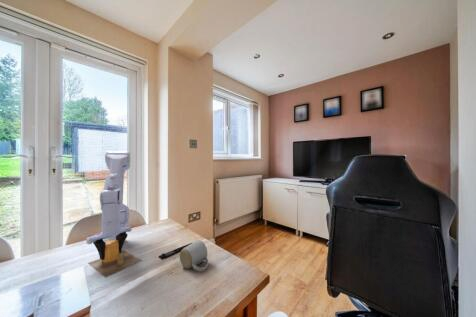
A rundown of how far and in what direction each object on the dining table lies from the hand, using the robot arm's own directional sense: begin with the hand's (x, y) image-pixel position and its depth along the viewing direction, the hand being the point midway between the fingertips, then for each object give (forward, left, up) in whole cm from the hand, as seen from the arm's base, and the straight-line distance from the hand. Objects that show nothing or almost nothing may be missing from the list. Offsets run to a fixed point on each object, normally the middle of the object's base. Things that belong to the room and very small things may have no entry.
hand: (110, 255), depth 69 cm
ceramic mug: (+29, +17, -3) cm, 34 cm away
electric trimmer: (+17, +17, -3) cm, 24 cm away
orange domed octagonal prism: (0, 0, -1) cm, 1 cm away
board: (+4, 0, -3) cm, 5 cm away
